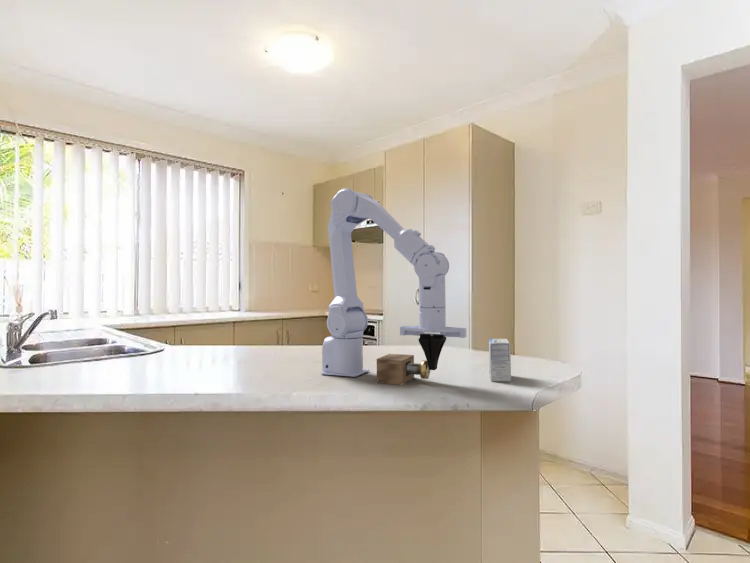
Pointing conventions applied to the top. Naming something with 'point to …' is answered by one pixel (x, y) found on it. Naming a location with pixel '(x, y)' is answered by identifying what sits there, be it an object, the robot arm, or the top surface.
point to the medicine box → (499, 360)
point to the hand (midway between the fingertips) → (432, 369)
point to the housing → (394, 369)
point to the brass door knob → (418, 369)
